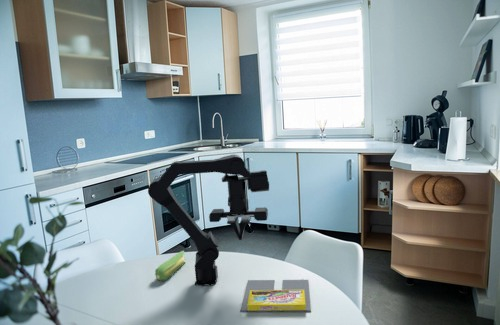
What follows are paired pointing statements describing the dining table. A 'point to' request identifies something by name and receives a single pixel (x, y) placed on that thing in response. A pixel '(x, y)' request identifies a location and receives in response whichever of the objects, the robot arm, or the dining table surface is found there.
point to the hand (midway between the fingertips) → (240, 239)
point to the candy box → (276, 300)
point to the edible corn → (169, 266)
